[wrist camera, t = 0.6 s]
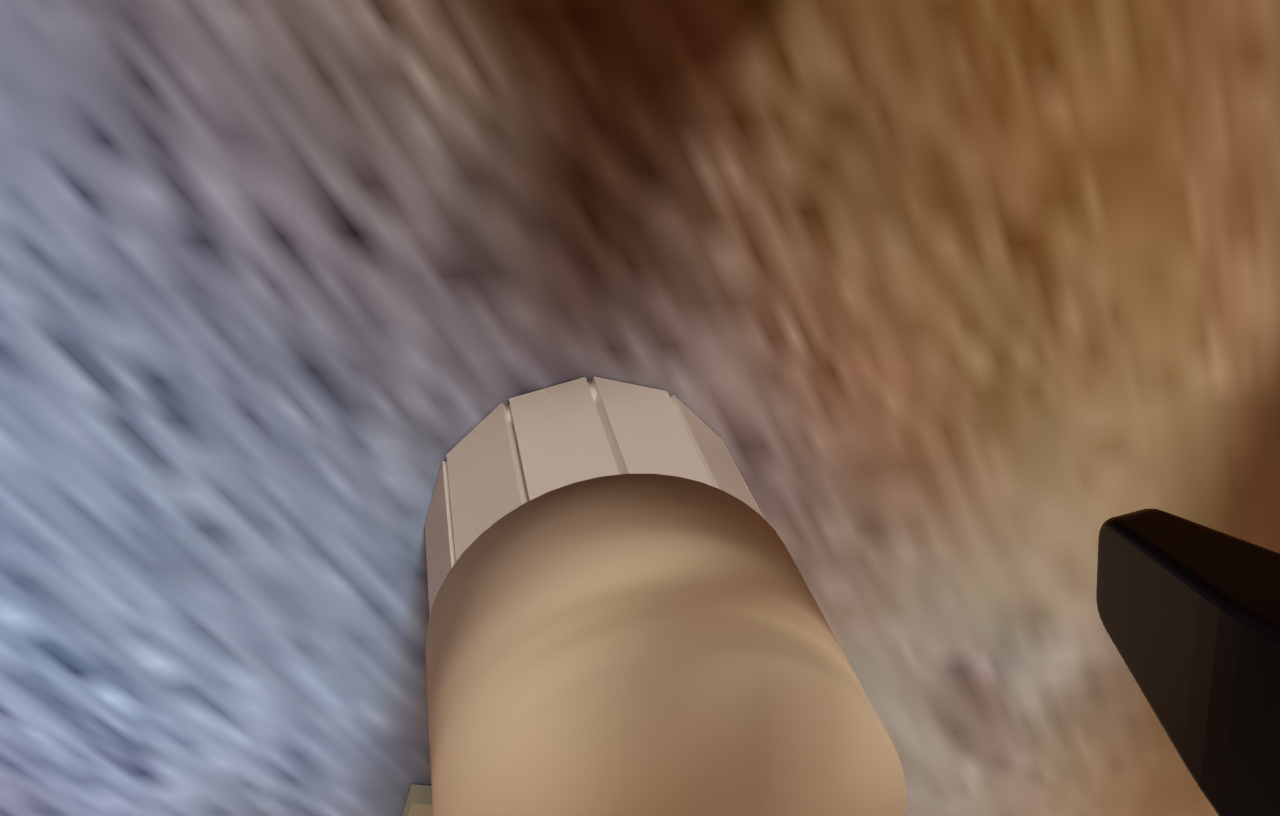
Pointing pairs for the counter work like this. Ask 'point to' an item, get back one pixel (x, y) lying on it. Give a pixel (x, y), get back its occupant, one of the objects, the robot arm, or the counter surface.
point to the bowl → (565, 457)
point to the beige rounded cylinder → (644, 667)
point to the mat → (419, 801)
